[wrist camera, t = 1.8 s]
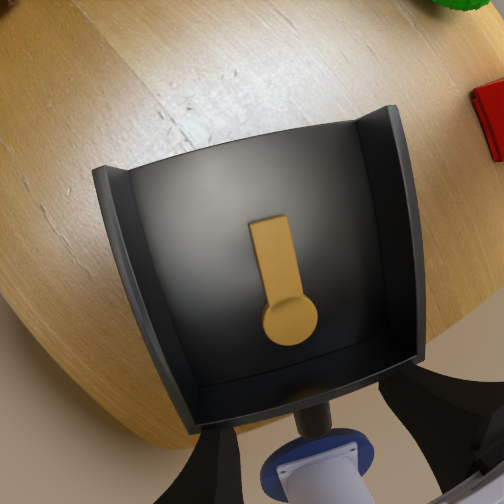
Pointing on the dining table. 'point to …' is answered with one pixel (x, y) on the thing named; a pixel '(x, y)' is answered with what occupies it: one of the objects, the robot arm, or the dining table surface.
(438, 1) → the ornament
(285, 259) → the spoon
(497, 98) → the french fries container
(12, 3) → the alarm clock
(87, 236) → the dining table surface
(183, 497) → the robot arm
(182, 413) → the grey sheet metal tray
